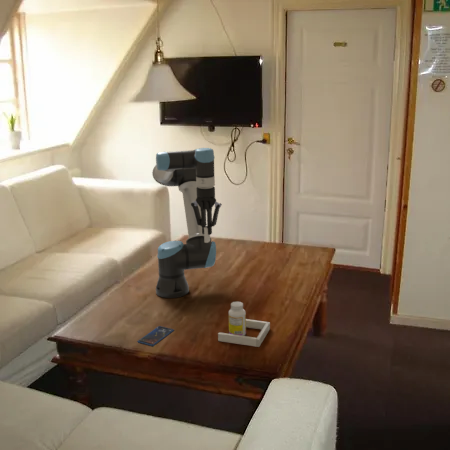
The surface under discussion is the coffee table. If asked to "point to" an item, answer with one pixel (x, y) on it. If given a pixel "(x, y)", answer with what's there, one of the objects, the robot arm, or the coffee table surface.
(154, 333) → the smartphone
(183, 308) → the coffee table surface
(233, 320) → the supplement bottle
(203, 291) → the coffee table surface
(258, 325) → the corral
